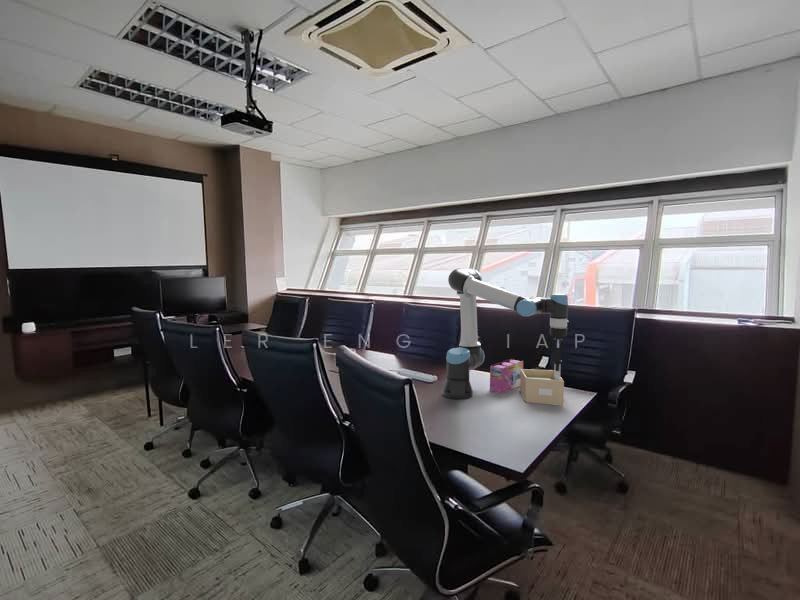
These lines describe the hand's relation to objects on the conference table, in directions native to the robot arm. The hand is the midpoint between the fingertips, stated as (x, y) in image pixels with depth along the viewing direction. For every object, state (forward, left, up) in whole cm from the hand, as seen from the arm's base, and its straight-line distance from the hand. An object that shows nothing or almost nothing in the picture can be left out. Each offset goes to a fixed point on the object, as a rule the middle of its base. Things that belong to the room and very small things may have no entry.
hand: (557, 376), depth 186 cm
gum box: (-20, +25, -14) cm, 35 cm away
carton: (-5, +11, -14) cm, 18 cm away
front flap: (-5, +1, -14) cm, 15 cm away
